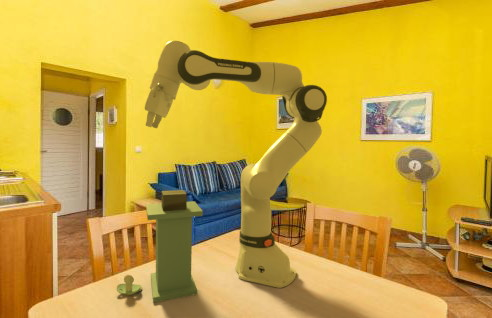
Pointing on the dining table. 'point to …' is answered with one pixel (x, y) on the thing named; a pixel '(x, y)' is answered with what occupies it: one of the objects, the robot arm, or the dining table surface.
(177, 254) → the stand
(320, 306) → the dining table surface
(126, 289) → the pacifier
